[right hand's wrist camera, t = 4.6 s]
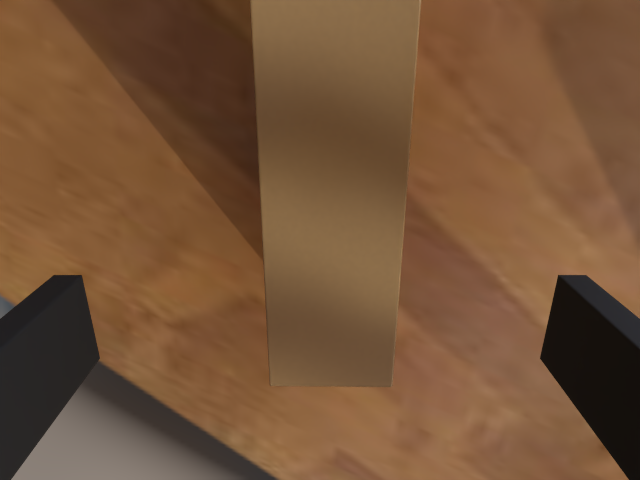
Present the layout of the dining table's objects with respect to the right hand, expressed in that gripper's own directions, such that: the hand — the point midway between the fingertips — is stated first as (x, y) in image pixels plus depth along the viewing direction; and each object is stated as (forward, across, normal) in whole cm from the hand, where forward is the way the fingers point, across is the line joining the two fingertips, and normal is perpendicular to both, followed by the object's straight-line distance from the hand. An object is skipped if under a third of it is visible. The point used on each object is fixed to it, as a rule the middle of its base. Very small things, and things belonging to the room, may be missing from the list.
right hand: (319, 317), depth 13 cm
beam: (+12, -1, -29) cm, 32 cm away
